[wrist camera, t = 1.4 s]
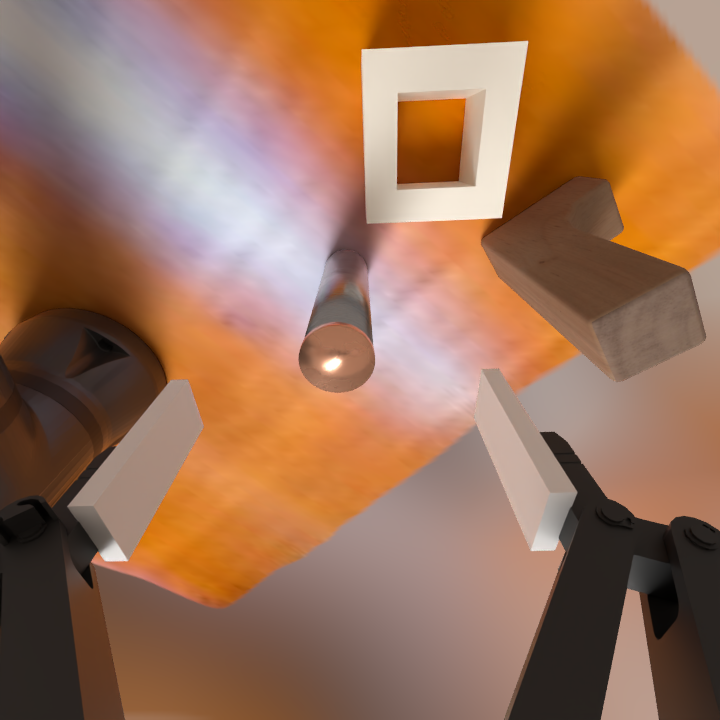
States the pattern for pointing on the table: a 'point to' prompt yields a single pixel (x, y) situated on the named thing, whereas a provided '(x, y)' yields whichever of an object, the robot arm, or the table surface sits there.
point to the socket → (480, 132)
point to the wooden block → (596, 281)
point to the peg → (340, 327)
